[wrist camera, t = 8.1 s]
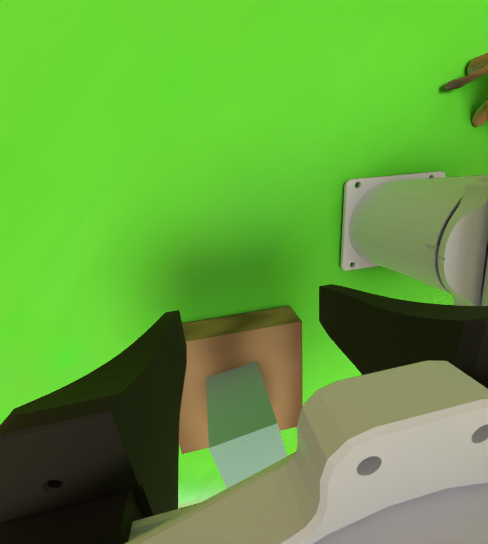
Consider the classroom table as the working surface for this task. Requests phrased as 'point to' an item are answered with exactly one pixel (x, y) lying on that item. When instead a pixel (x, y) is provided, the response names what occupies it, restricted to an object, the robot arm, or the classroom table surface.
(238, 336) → the walnut base
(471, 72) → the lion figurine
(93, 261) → the classroom table surface
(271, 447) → the teal block
